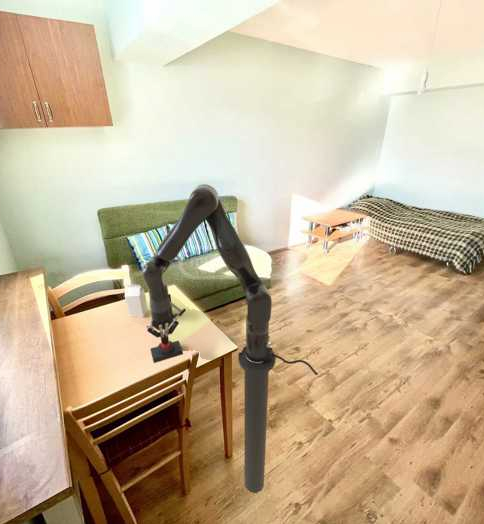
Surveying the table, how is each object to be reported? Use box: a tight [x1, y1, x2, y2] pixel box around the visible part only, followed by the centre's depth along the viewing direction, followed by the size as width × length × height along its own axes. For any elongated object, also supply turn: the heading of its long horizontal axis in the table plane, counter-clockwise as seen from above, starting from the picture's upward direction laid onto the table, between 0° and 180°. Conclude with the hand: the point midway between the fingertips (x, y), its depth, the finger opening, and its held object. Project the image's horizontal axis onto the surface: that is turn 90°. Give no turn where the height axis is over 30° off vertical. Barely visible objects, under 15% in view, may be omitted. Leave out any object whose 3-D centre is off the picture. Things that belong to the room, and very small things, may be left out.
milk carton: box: [124, 284, 149, 318], centre depth 138 cm, size 7×7×19 cm
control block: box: [149, 340, 184, 364], centre depth 116 cm, size 12×7×4 cm, turn 115°
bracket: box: [168, 293, 179, 319], centre depth 138 cm, size 10×8×13 cm
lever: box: [170, 301, 187, 317], centre depth 136 cm, size 13×5×2 cm
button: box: [160, 340, 171, 349], centre depth 115 cm, size 4×4×2 cm
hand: (165, 342), depth 114 cm, fingers closed
